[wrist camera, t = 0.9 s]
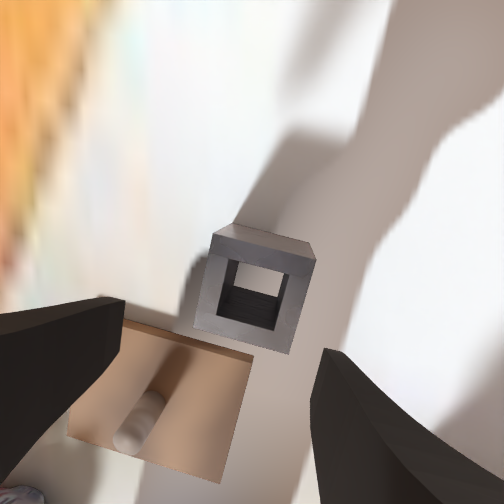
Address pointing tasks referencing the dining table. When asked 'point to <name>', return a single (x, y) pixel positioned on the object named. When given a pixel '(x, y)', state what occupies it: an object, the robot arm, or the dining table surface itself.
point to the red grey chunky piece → (21, 495)
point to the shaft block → (165, 401)
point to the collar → (250, 302)
